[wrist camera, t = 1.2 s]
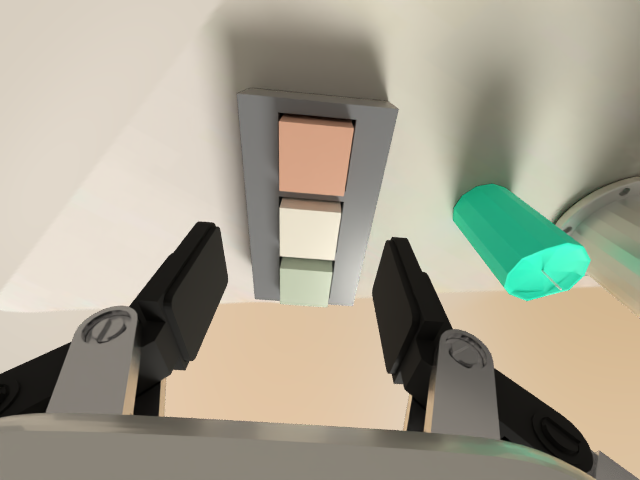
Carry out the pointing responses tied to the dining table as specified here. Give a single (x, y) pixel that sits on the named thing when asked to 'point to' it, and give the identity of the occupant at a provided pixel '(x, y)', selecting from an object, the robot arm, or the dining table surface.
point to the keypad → (265, 198)
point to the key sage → (305, 281)
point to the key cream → (309, 228)
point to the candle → (519, 243)
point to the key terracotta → (314, 154)
